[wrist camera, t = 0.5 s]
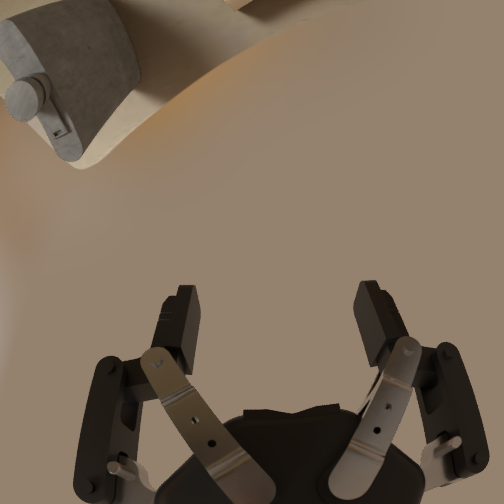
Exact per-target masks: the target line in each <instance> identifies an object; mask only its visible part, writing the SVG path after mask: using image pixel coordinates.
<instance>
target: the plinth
mask: <svg viewBox="0 0 504 504" xmlns="http://www.w3.org/2000/svg"><path fill="white" fill-rule="evenodd" d="M224 1H225V2H226V3H227V4H228V5H229V6H230V7H231V8H232V9H233V10H234V11H237V10H238V9H240V8H241V7H243V6H244V5H246V4H248V3H249V2H251V1H252V0H224Z"/></svg>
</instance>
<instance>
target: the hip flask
mask: <svg viewBox="0 0 504 504" xmlns="http://www.w3.org/2000/svg"><path fill="white" fill-rule="evenodd" d="M0 58H1V60H2V61H3V62H4V64H5V65H6V67H7V68H8V69H9V71H10V72H11V74H12V75H13V77H14V78H15V80H16V81H15V82H14V83H12V84H11V85H10V86H9V88H8V89H7V92H6V95H5V105H6V108H7V110H8V112H9V114H10V115H11V116H12V118H14V119H15V120H17V121H20V122H27V121H29V120H31V119H32V118H33V117H34V116H35V115H36V116H37V117H38V119H39V121H40V122H41V124H42V126H43V128H44V130H45V132H46V134H47V136H48V138H49V140H50V142H51V144H52V146H53V148H54V150H55V152H56V154H57V155H58V156H59V157H60V158H61V159H63V160H65V161H68V162H74V161H77V160H79V159H80V158H81V156H82V155H83V153H84V152H85V150H86V149H87V147H88V146H89V145H90V143H91V142H92V140H93V139H94V137H95V136H96V135H97V133H98V132H99V131H100V129H101V128H102V127H103V125H104V124H105V123H106V121H107V120H108V119H109V117H110V116H111V115H112V114H113V112H114V111H115V110H116V109H117V107H118V106H119V105H120V104H121V103H122V101H123V100H124V99H125V98H126V97H127V95H128V94H129V93H130V92H131V91H132V90H133V89H134V87H135V86H136V85H137V84H138V83H139V82H140V79H141V73H140V68H139V64H138V60H137V57H136V54H135V51H134V48H133V45H132V42H131V40H130V37H129V35H128V33H127V31H126V28H125V26H124V24H123V22H122V20H121V18H120V17H119V15H118V13H117V11H116V10H115V8H114V7H113V5H112V4H111V2H110V1H109V0H61V1H57V2H54V3H50V4H47V5H44V6H40V7H37V8H34V9H31V10H28V11H26V12H23V13H20V14H17V15H15V16H12V17H10V18H7V19H5V20H3V21H1V22H0Z"/></svg>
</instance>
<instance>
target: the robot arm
mask: <svg viewBox="0 0 504 504" xmlns="http://www.w3.org/2000/svg"><path fill="white" fill-rule="evenodd" d="M353 309H354V315H355V318H356V321H357V324H358V328H359V331H360V334H361V337H362V341H363V344H364V347H365V351H366V354H367V357H368V361H369V365H370V367H374V366H378V369H379V371H378V373H377V375H376V377H375V379H374V381H373V383H372V385H371V388H370V389H369V391H368V393H367V396H366V397H365V399H364V401H363V403H362V404H361V406H360V408H359V409H358V411H357V412H356V414H355V413H353V412H350V411H348V410H343V409H340V406H339V403H338V404H331V405H322V406H315V407H312V408H309V409H306V410H303V411H300V412H297V413H293V414H291V413H285V412H279V411H274V410H268V409H263V410H243V415H242V416H238V417H235V418H233V419H231V420H229V421H227V422H225V423H224V424H222V423H221V422H220V421H219V419H218V418H217V417H216V415H215V414H214V413H213V412H212V410H211V409H210V408H209V406H208V405H207V404H206V402H205V401H204V400H203V398H202V397H201V396H200V394H199V393H198V392H197V390H196V389H195V388H194V387H193V386H192V385H191V384H190V383H189V381H188V380H187V378H186V377H185V374H186V375H187V374H188V375H192V371H193V364H194V357H195V350H196V343H197V336H198V330H199V324H200V313H201V312H200V304H199V300H198V295H197V291H196V286H195V285H179V287H178V291H177V295H176V296H169V297H168V298H167V299H166V300H165V302H164V303H163V305H162V308H161V314H160V315H159V321H158V322H157V326H156V330H155V333H154V337H153V341H152V345H151V348H150V349H148V350H147V351H145V353H144V354H143V355H142V357H140V358H137V359H133V360H128V361H123V362H122V361H121V360H120V359H119V358H118V357H115V356H107V357H105V358H103V359H101V360H100V361H99V362H98V364H97V366H96V369H95V373H94V377H93V380H92V384H91V388H90V392H89V396H88V400H87V404H86V409H85V414H84V418H83V423H82V428H81V433H80V439H79V444H78V450H77V457H76V463H75V471H74V479H73V487H74V491H75V493H76V495H77V496H78V497H79V498H80V499H81V500H83V501H84V502H86V503H90V504H420V502H421V499H422V496H423V493H424V492H425V491H428V490H430V489H433V488H436V487H443V486H446V485H449V484H452V483H455V482H457V481H460V480H463V479H465V478H468V477H470V476H473V475H475V474H477V473H479V472H481V471H483V470H484V469H485V468H486V466H487V464H488V462H489V450H488V444H487V440H486V436H485V431H484V427H483V423H482V419H481V416H480V412H479V409H478V405H477V402H476V399H475V395H474V392H473V389H472V386H471V383H470V380H469V377H468V375H467V372H466V369H465V367H464V364H463V361H462V359H461V356H460V353H459V351H458V349H457V348H456V347H455V346H454V345H453V344H451V343H448V342H443V343H441V344H439V345H438V347H437V348H429V347H423V346H421V345H420V343H419V342H418V341H417V340H416V339H414V338H412V337H410V336H409V334H408V332H407V329H406V327H405V325H404V322H403V320H402V318H401V316H400V313H398V309H397V307H396V304H395V303H394V300H393V298H392V297H391V295H390V294H389V293H388V292H387V291H386V290H381V289H380V287H379V285H378V283H377V281H376V280H369V281H361V282H360V284H359V287H358V291H357V294H356V298H355V301H354V307H353ZM412 387H414V388H415V392H416V395H417V400H418V404H419V408H420V413H421V417H422V421H423V426H424V432H425V437H426V443H427V445H426V446H425V447H424V449H423V451H422V457H421V464H420V466H419V465H418V464H417V463H416V462H414V461H413V460H412V459H411V458H409V457H408V456H407V455H406V454H404V453H403V452H402V451H401V450H400V449H398V448H397V447H396V446H395V445H394V444H392V443H391V441H392V440H393V437H394V435H395V433H396V431H397V429H398V426H399V424H400V422H401V419H402V417H403V415H404V412H405V410H406V407H407V405H408V402H409V399H410V397H411V394H412V390H413V389H412ZM158 398H159V399H160V401H161V403H162V406H163V407H164V409H165V411H166V412H167V414H168V415H169V417H170V419H171V420H172V422H173V423H174V425H175V426H176V428H177V429H178V431H179V433H180V434H181V436H182V437H183V438H184V440H185V441H186V443H187V444H188V446H189V447H190V448H191V450H192V451H193V452H194V454H193V455H192V456H191V457H190V458H189V459H188V460H187V461H186V462H185V463H184V464H183V465H182V466H181V467H180V468H179V469H178V470H176V471H175V472H174V473H173V474H172V475H171V476H170V477H169V478H168V479H167V480H166V481H165V482H164V483H163V484H162V485H161V486H160V487H159V488H158V490H157V491H156V490H155V489H153V488H152V486H151V485H150V483H149V480H148V474H147V471H146V470H145V468H144V467H143V466H142V465H141V464H139V463H137V451H138V441H139V432H140V423H141V415H142V407H143V401H148V400H153V399H158Z"/></svg>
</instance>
